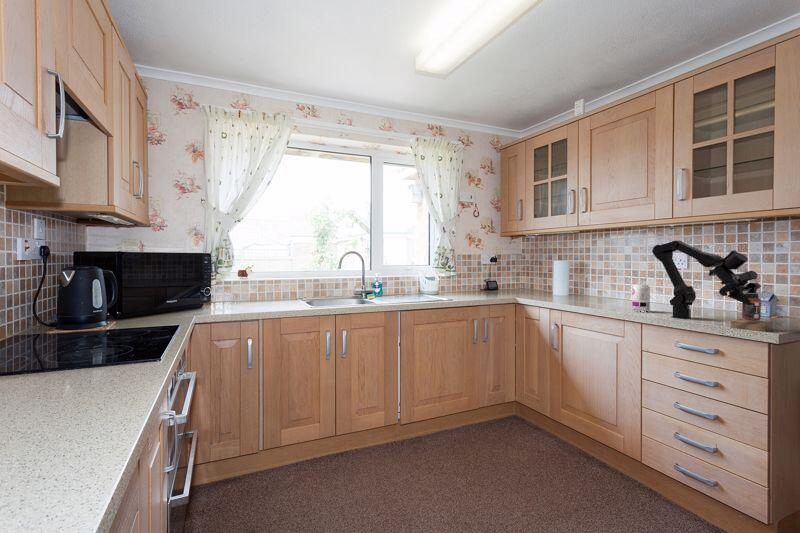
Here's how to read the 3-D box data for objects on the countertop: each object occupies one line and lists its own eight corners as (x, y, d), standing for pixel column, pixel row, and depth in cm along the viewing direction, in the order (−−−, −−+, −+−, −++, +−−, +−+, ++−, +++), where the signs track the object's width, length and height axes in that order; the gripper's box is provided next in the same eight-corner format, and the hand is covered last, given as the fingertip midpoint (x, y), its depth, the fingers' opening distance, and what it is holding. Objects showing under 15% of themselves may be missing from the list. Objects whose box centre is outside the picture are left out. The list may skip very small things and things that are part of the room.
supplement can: (630, 311, 220) (631, 284, 219) (634, 310, 226) (634, 283, 226) (647, 312, 214) (648, 285, 214) (650, 311, 221) (651, 284, 220)
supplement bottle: (762, 321, 165) (763, 294, 165) (743, 320, 168) (744, 293, 168) (758, 319, 170) (759, 292, 170) (740, 318, 173) (741, 292, 173)
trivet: (730, 327, 170) (731, 321, 170) (739, 325, 177) (739, 319, 177) (765, 331, 161) (765, 324, 161) (772, 328, 168) (772, 322, 168)
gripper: (727, 264, 169) (757, 292, 159) (756, 264, 175) (786, 291, 165) (707, 281, 177) (734, 309, 167) (736, 280, 183) (763, 308, 173)
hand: (755, 304), depth 168 cm, fingers closed on supplement bottle, 6 cm apart
